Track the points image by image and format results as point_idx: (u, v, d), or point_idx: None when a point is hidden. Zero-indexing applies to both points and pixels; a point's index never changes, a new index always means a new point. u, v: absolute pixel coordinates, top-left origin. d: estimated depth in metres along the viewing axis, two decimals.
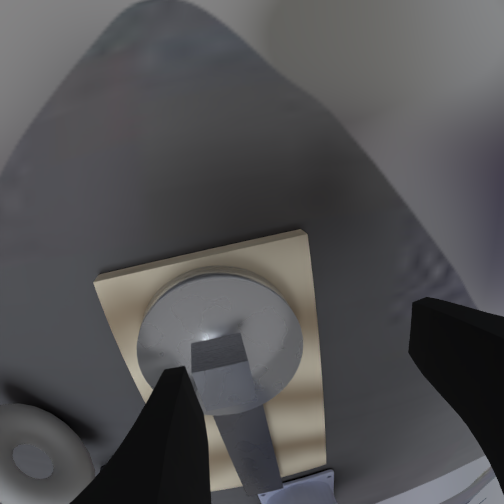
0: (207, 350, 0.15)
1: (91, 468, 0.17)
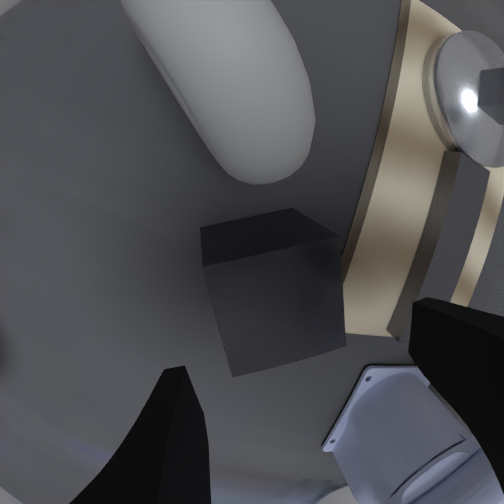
0: None
1: None
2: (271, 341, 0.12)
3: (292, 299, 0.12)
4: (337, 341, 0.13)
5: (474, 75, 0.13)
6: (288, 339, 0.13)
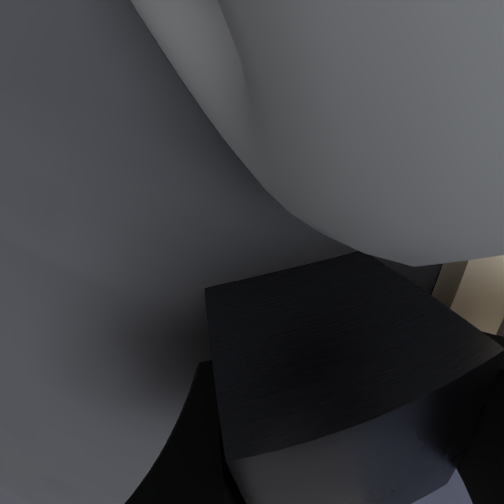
0: None
1: None
2: None
3: (401, 466, 0.05)
4: (441, 483, 0.06)
5: None
6: None
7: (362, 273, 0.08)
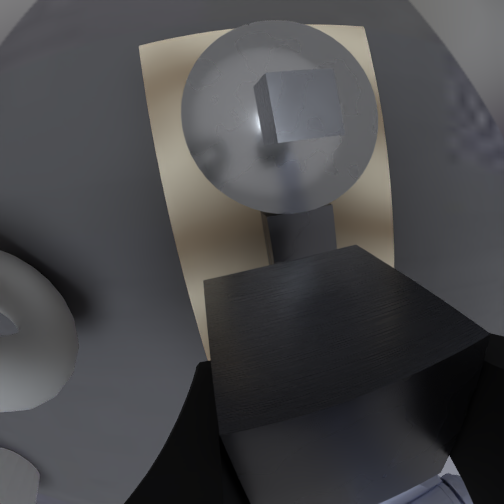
0: None
1: (73, 336, 0.13)
2: (340, 501, 0.05)
3: (391, 449, 0.05)
4: (433, 471, 0.06)
5: (243, 104, 0.13)
6: (368, 492, 0.06)
7: (354, 265, 0.09)
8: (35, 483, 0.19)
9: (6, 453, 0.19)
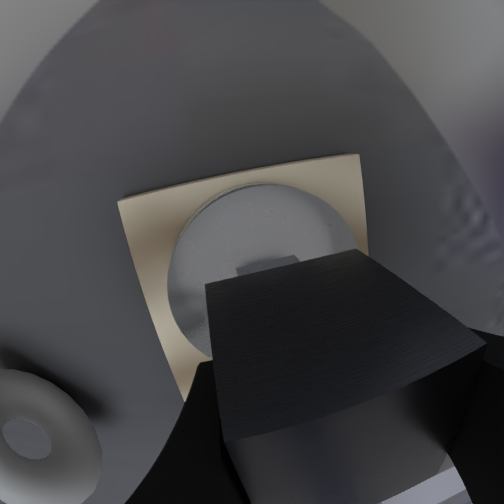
0: (258, 271, 0.13)
1: (97, 447, 0.15)
2: (338, 501, 0.06)
3: (388, 452, 0.05)
4: (430, 472, 0.06)
5: None
6: (366, 493, 0.06)
7: (354, 270, 0.09)
8: None
9: None
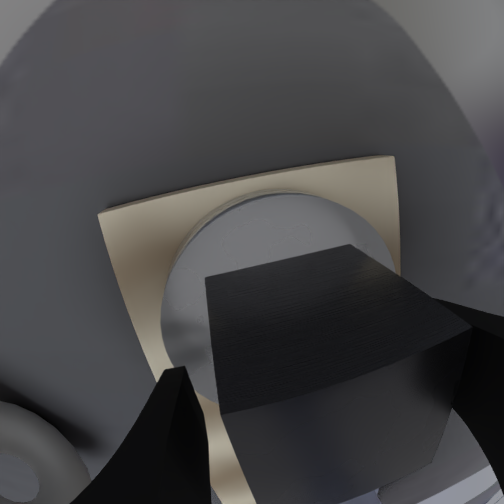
0: None
1: None
2: (333, 486, 0.06)
3: (380, 435, 0.06)
4: (424, 460, 0.07)
5: None
6: (360, 478, 0.06)
7: (347, 263, 0.09)
8: None
9: None
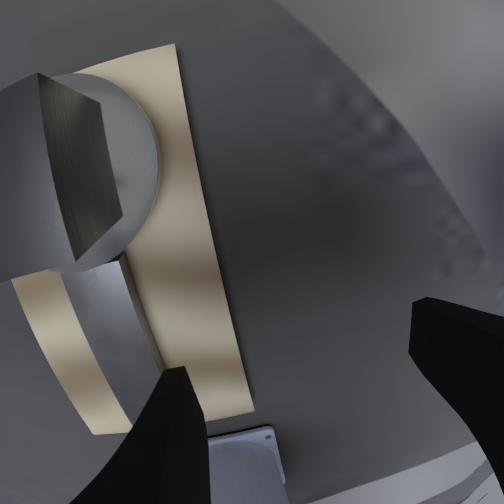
0: None
1: None
2: None
3: None
4: (59, 250, 0.07)
5: None
6: None
7: None
8: None
9: None
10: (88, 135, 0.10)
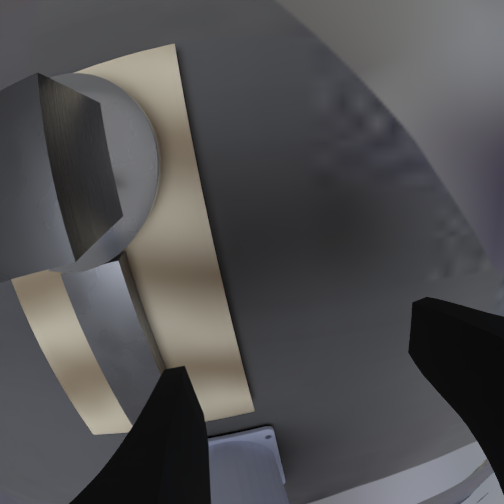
0: None
1: None
2: None
3: None
4: (59, 250, 0.07)
5: None
6: None
7: None
8: None
9: None
10: (88, 135, 0.10)
